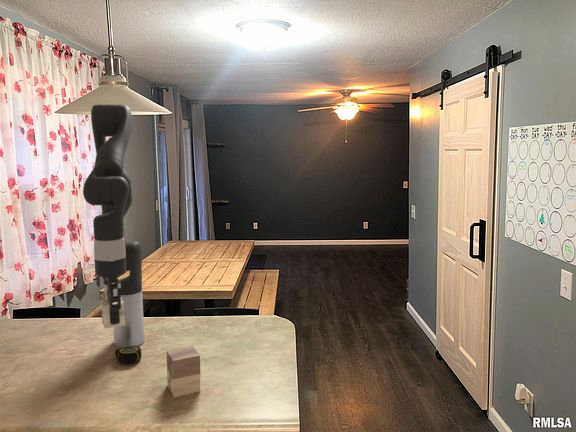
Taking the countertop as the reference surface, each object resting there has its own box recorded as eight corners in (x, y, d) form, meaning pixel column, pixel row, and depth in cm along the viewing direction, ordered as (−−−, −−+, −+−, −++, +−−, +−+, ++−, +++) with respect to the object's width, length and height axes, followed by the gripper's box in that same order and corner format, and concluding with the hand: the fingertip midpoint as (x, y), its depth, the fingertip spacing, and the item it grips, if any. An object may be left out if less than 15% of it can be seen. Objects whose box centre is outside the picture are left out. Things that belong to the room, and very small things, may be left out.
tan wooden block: (167, 385, 133) (166, 368, 133) (192, 380, 136) (192, 363, 136) (173, 397, 127) (173, 379, 126) (200, 391, 130) (200, 373, 129)
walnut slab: (167, 368, 133) (166, 350, 132) (192, 362, 136) (192, 345, 135) (173, 379, 126) (173, 360, 126) (200, 373, 130) (200, 355, 129)
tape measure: (138, 354, 153) (137, 342, 152) (144, 362, 147) (143, 350, 146) (115, 359, 149) (114, 347, 149) (120, 368, 143) (119, 355, 143)
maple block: (102, 321, 129) (100, 299, 128) (122, 318, 131) (121, 297, 130) (104, 328, 125) (103, 305, 124) (125, 325, 127) (124, 302, 126)
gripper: (91, 251, 130) (95, 313, 133) (97, 264, 117) (101, 332, 120) (121, 248, 133) (124, 309, 136) (130, 260, 121) (133, 327, 123)
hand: (113, 319), depth 128 cm, fingers closed on maple block, 5 cm apart
